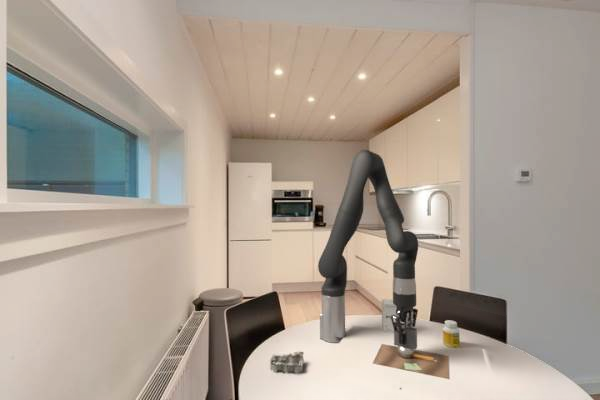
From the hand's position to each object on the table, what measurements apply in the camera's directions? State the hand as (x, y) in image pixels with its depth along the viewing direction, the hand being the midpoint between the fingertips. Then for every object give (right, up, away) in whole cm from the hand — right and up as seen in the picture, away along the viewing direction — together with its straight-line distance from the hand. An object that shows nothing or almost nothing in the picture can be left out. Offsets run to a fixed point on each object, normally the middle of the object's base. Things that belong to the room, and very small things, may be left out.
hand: (405, 342), depth 103 cm
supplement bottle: (+20, -6, +8) cm, 22 cm away
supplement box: (+3, -7, +24) cm, 25 cm away
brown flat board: (+1, -6, -3) cm, 7 cm away
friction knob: (+2, -4, -2) cm, 5 cm away
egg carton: (-40, -6, -5) cm, 40 cm away
